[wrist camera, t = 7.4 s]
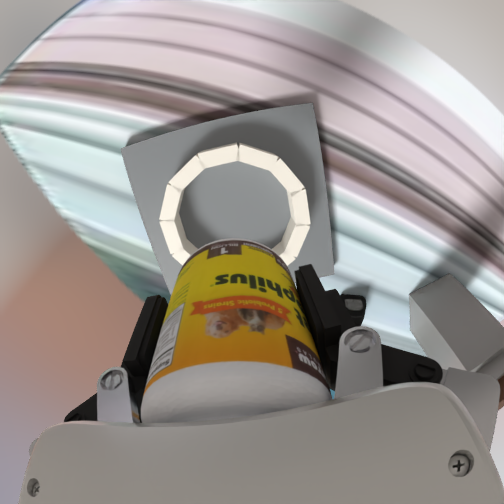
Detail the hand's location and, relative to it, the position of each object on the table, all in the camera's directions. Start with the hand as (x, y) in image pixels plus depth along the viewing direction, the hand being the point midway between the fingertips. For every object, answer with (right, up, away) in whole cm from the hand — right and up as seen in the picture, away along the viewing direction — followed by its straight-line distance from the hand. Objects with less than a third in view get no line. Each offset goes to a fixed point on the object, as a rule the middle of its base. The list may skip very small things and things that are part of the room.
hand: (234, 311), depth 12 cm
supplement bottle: (0, +1, +2) cm, 2 cm away
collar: (-1, +6, +12) cm, 14 cm away
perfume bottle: (+24, -4, +19) cm, 31 cm away
